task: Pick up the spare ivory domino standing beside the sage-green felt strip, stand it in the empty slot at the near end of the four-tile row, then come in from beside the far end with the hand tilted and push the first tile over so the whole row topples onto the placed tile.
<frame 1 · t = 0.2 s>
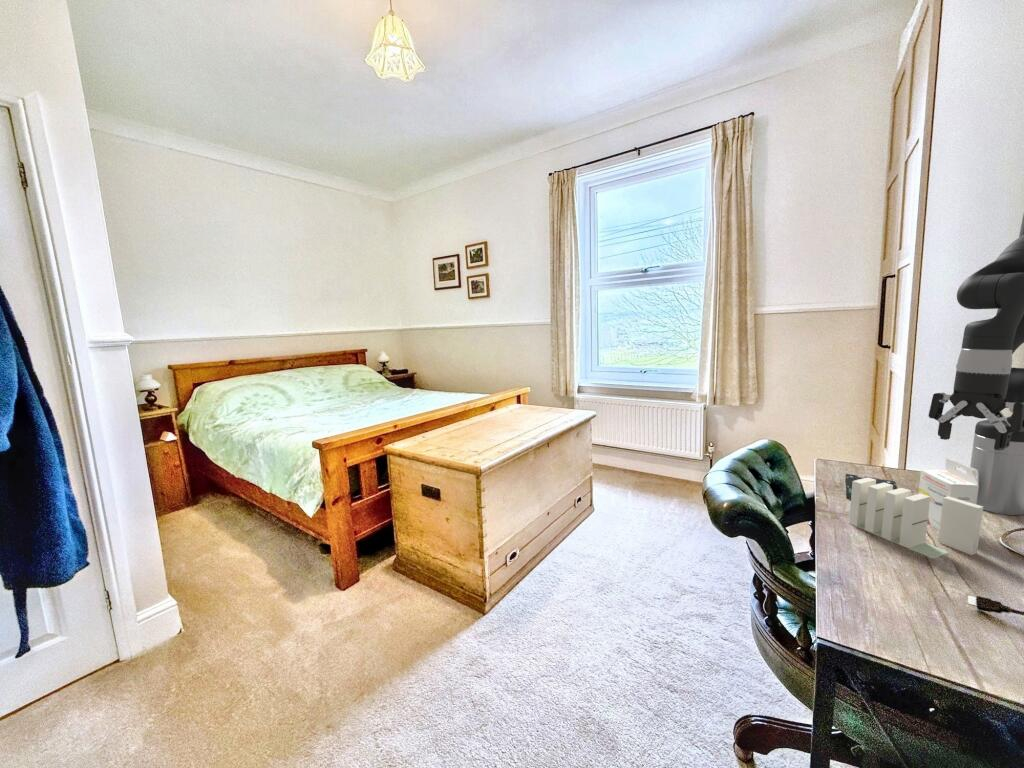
hand: (970, 444, 88), 18 cm above the table, tool pointing down, fingers open, 8 cm apart
domino 5: (956, 549, 80), on the table
ink cartridge box: (941, 528, 88), on the table
domino 4: (912, 543, 82), resting on felt strip
domino 1: (860, 522, 90), resting on felt strip
domino 2: (876, 529, 87), resting on felt strip
felt strip: (894, 537, 85), on the table
domino 3: (893, 535, 85), resting on felt strip
disk drive: (870, 496, 105), on the table
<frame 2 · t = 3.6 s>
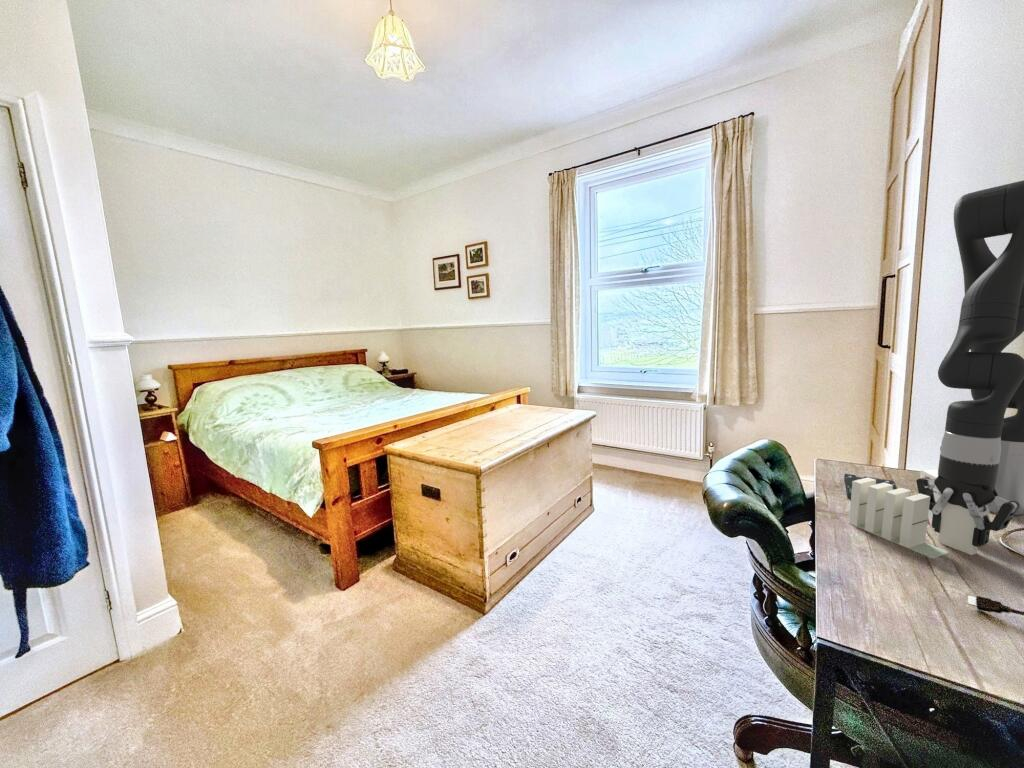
hand: (957, 537, 79), 2 cm above the table, tool pointing down, fingers closed on domino 5, 5 cm apart
domino 5: (956, 549, 80), on the table, touching gripper
everything else where it was.
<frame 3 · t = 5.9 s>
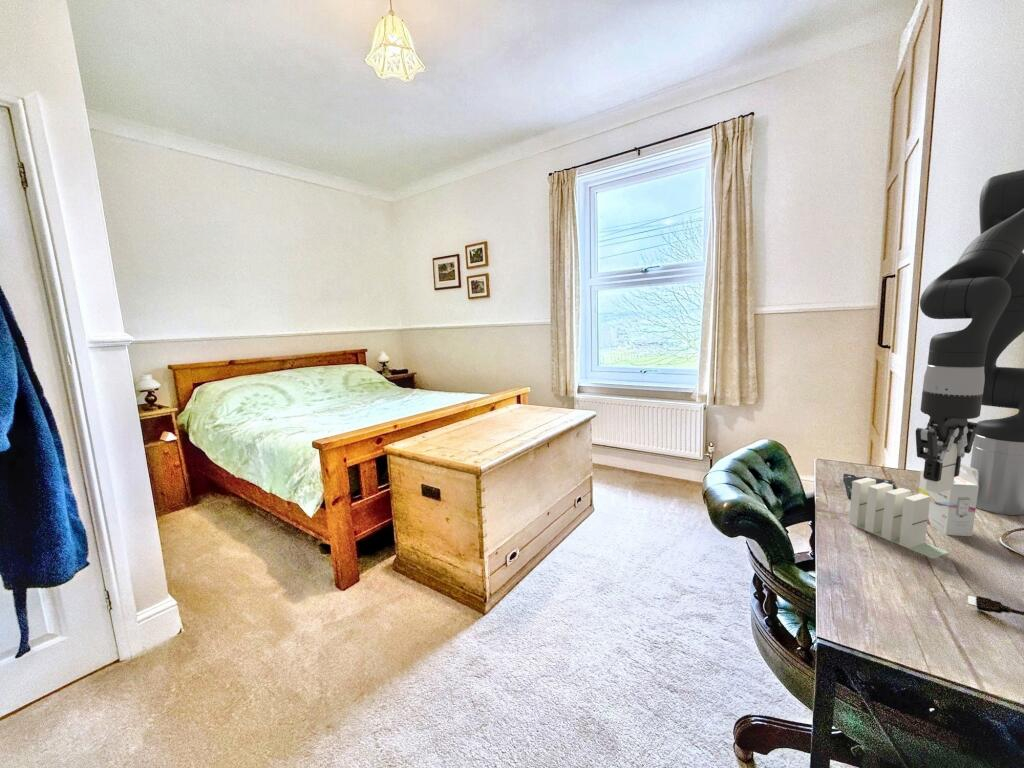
hand: (940, 477, 76), 16 cm above the table, tool pointing down, fingers closed on domino 5, 5 cm apart
domino 5: (939, 489, 77), point 13 cm above the table, touching gripper
everything else where it was.
when the fingers open (4 cm above the table, at t = 8.4 s): domino 5 stays where it is, resting on felt strip.
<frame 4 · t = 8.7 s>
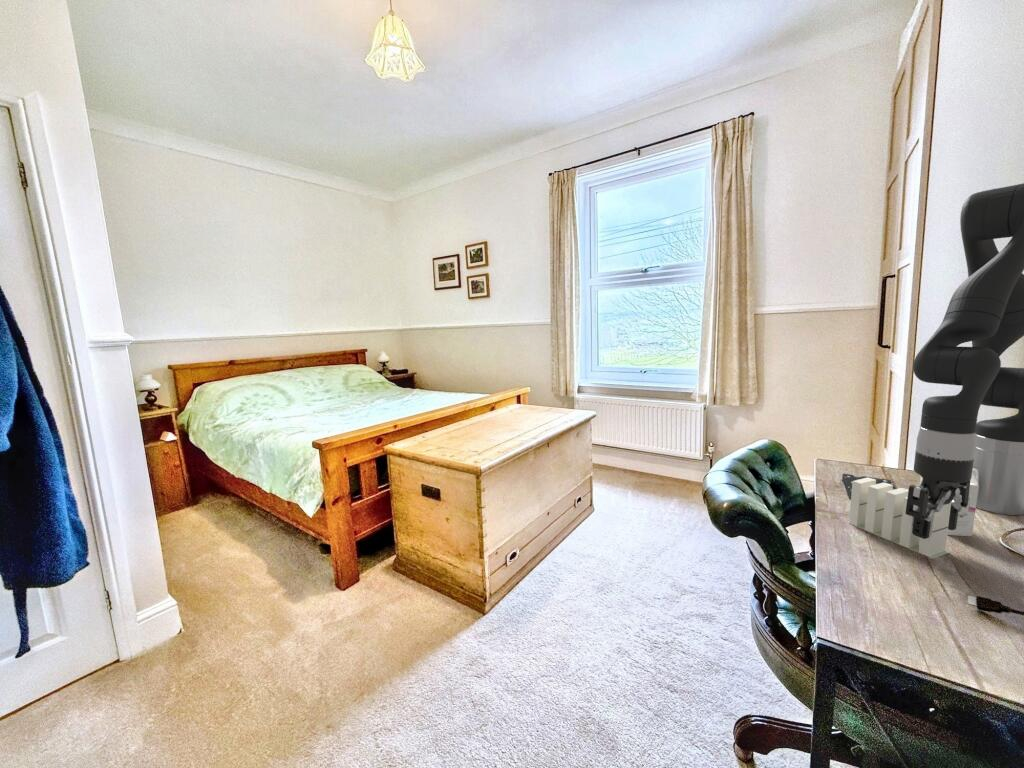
hand: (934, 532, 78), 4 cm above the table, tool pointing down, fingers open, 8 cm apart
domino 5: (931, 551, 79), resting on felt strip
everything else where it was.
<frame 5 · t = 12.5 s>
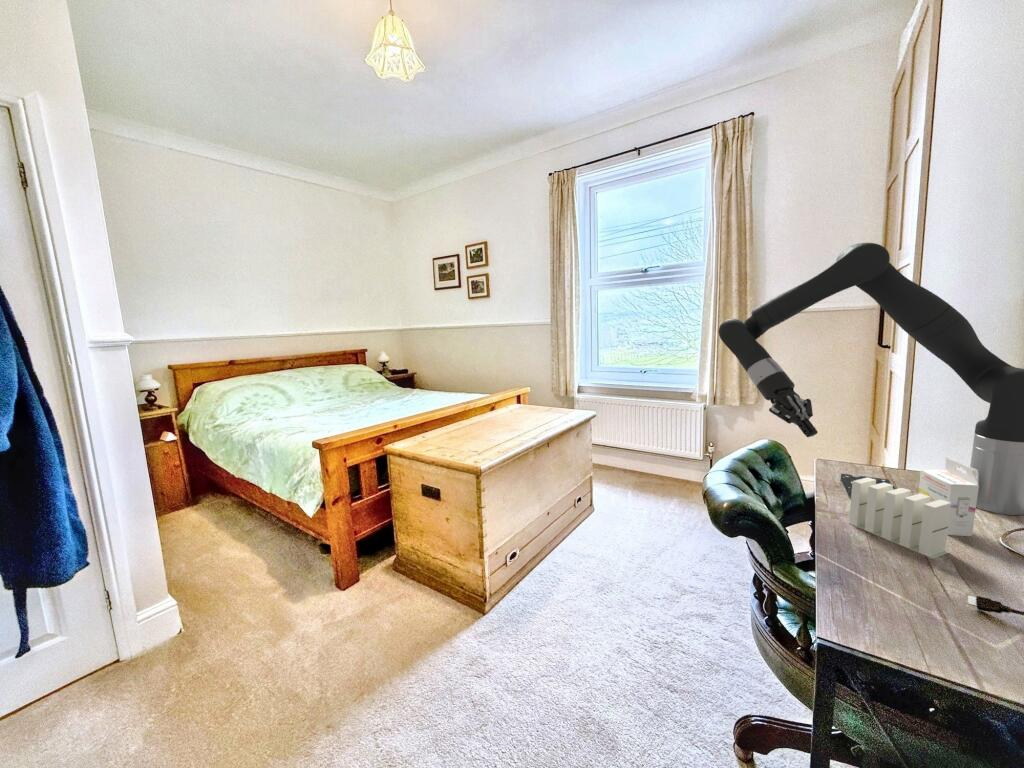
hand: (812, 435, 98), 18 cm above the table, tool tilted 45°, fingers closed
nothing on the table moved.
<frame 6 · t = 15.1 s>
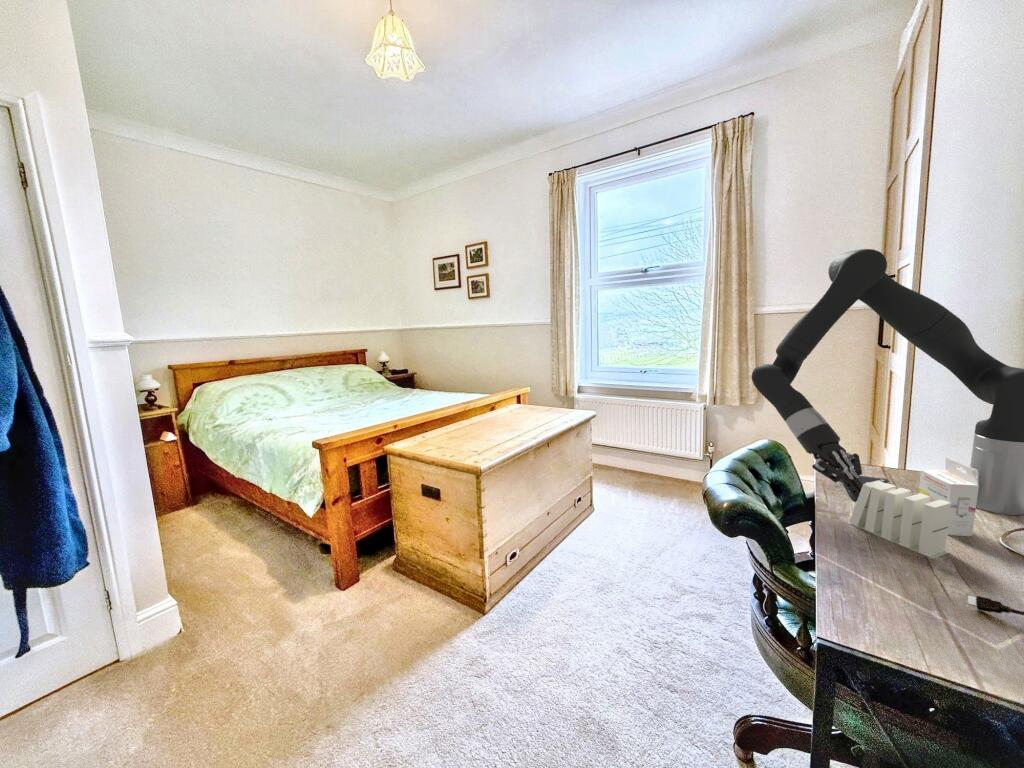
hand: (863, 496, 89), 7 cm above the table, tool tilted 45°, fingers closed
domino 1: (860, 521, 90), point 1 cm above the table, tilted 12°, touching felt strip, gripper
everything else where it was.
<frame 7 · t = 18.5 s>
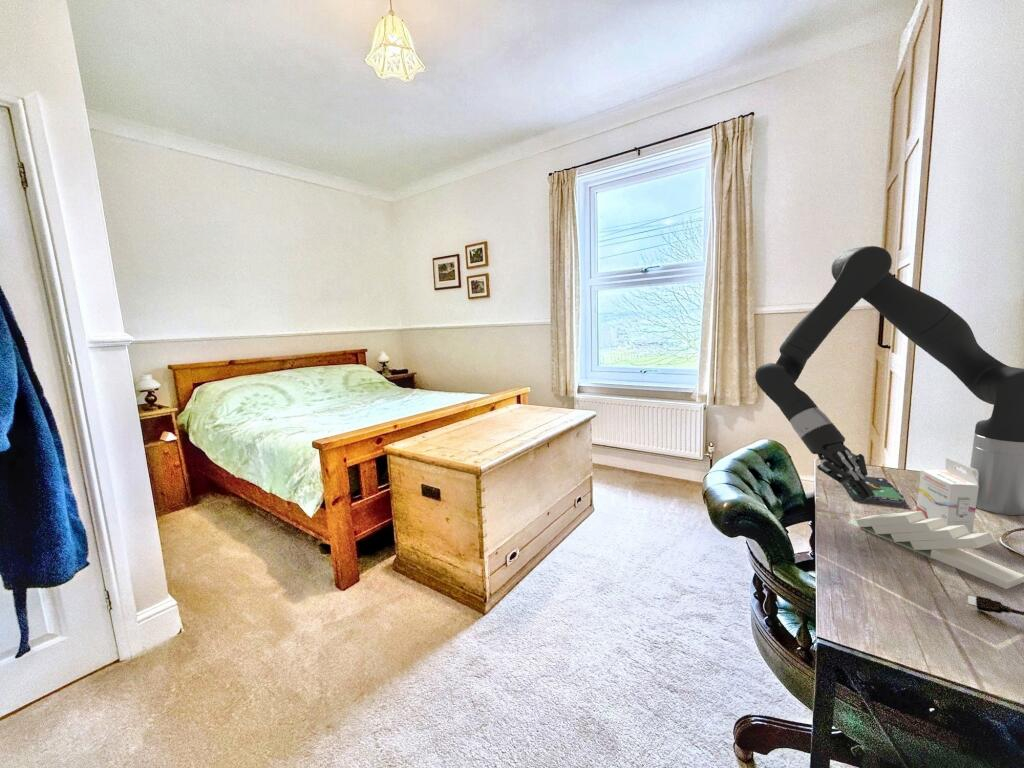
hand: (868, 497, 88), 7 cm above the table, tool tilted 45°, fingers closed
domino 5: (939, 550, 78), point 1 cm above the table, tilted 92°, touching domino 4, felt strip
domino 4: (920, 543, 80), point 1 cm above the table, tilted 58°, touching domino 3, domino 5
domino 1: (865, 521, 90), point 1 cm above the table, tilted 59°, touching domino 2, felt strip
domino 2: (882, 528, 86), point 1 cm above the table, tilted 59°, touching domino 1, domino 3, felt strip
domino 3: (900, 535, 83), point 1 cm above the table, tilted 59°, touching domino 2, domino 4
everything else where it was.
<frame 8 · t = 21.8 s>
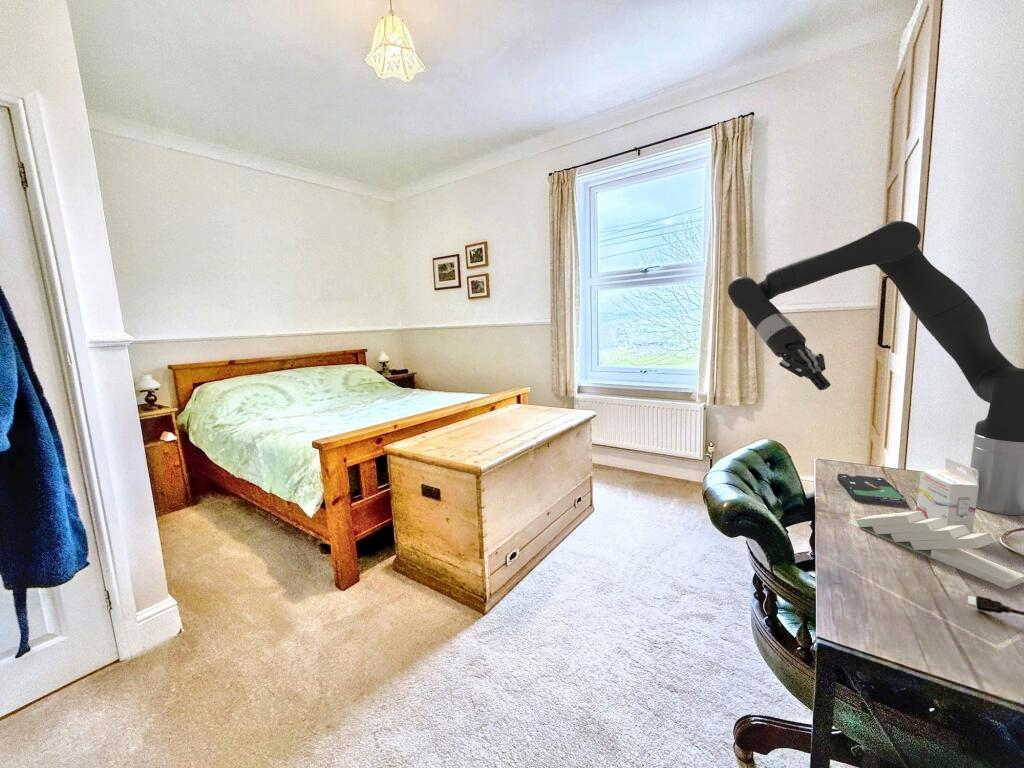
hand: (825, 387, 95), 30 cm above the table, tool tilted 45°, fingers closed
nothing on the table moved.
at the end: domino 5 inside the target area (1.2 cm from its centre), point 1.2 cm above the table; domino 5 tilted 92°; domino 1 tilted 59° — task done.
